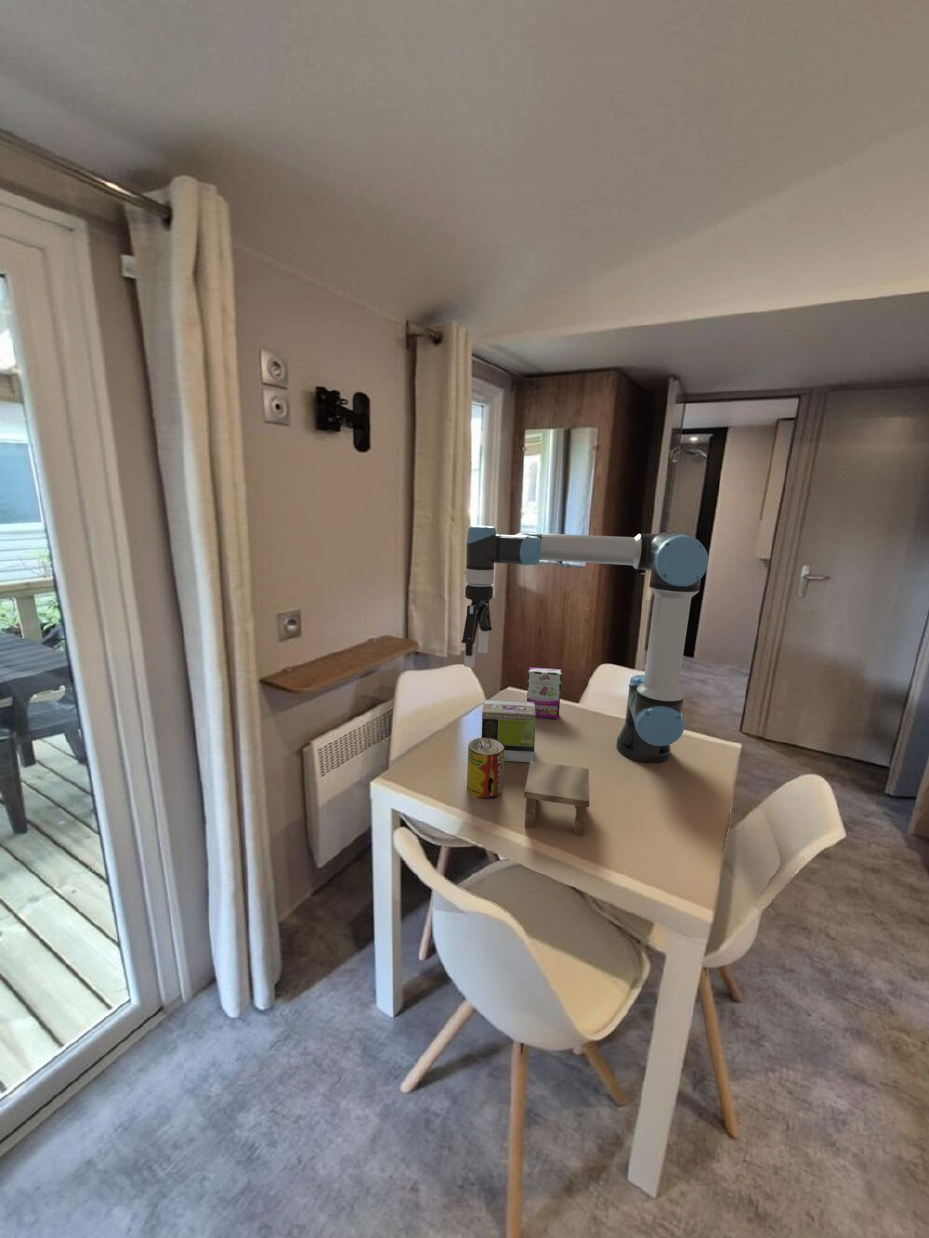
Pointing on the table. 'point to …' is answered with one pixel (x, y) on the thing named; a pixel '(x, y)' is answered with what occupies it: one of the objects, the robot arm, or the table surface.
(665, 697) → the robot arm
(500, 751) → the beverage can
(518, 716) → the tea box
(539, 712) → the candy bar box
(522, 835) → the table surface
